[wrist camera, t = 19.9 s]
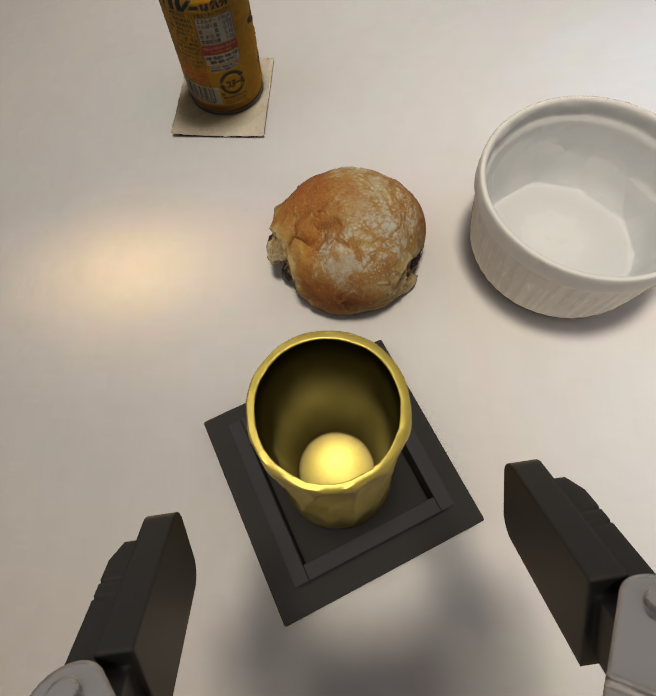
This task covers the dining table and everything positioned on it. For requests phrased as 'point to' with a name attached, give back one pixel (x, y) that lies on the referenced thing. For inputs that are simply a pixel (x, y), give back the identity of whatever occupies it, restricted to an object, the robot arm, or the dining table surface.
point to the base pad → (342, 543)
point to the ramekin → (568, 206)
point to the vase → (330, 424)
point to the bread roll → (348, 240)
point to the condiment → (218, 68)
